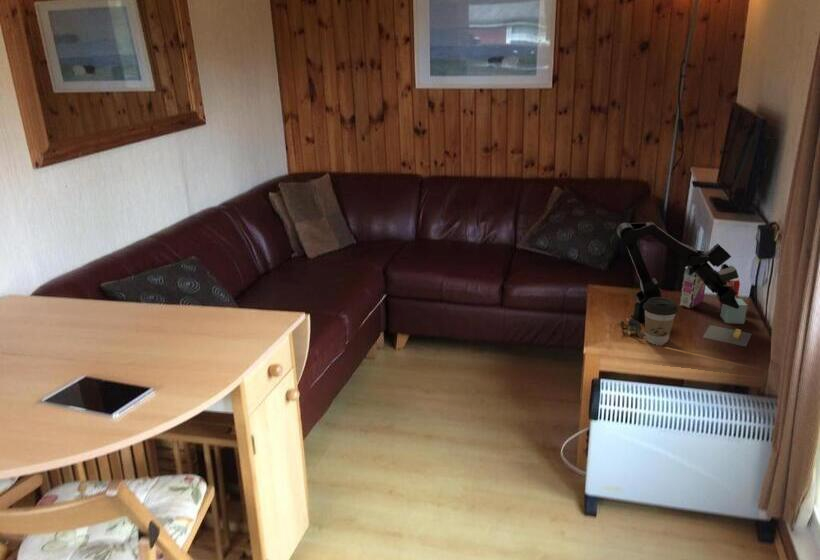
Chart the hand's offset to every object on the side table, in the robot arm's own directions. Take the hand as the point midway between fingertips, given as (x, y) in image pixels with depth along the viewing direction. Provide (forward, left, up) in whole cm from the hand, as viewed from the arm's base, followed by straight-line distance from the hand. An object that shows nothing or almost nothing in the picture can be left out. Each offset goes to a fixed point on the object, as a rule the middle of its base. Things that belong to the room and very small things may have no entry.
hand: (733, 303), depth 240 cm
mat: (-11, -11, -7) cm, 17 cm away
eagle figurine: (-41, +1, -8) cm, 42 cm away
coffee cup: (-36, -6, -8) cm, 37 cm away
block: (0, 0, -7) cm, 7 cm away
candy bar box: (-3, +19, -8) cm, 21 cm away
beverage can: (+8, +12, -8) cm, 16 cm away
